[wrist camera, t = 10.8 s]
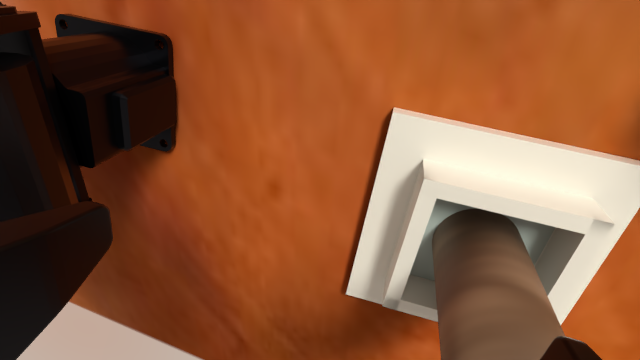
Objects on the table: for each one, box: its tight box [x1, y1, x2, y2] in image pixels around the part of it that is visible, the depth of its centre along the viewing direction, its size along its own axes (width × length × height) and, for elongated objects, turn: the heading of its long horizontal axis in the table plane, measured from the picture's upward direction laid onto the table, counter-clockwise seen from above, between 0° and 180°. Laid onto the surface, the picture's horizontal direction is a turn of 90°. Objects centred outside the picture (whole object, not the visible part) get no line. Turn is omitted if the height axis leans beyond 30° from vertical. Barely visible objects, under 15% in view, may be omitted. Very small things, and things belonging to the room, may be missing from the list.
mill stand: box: [346, 107, 640, 326], centre depth 20 cm, size 12×12×3 cm
